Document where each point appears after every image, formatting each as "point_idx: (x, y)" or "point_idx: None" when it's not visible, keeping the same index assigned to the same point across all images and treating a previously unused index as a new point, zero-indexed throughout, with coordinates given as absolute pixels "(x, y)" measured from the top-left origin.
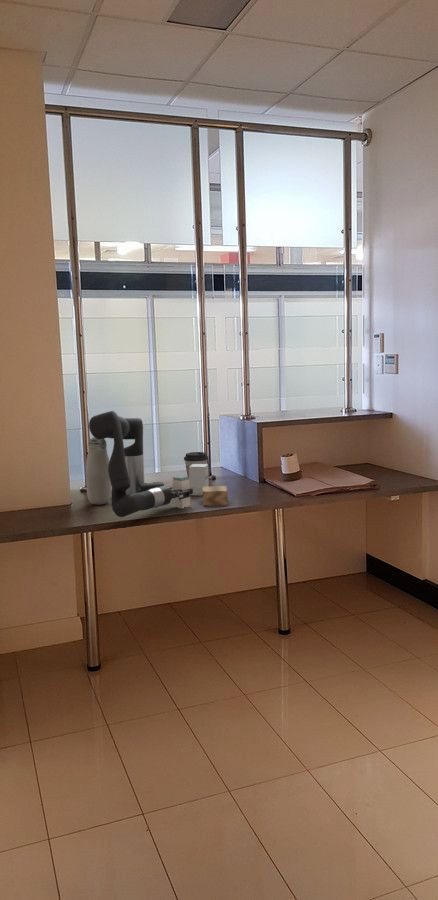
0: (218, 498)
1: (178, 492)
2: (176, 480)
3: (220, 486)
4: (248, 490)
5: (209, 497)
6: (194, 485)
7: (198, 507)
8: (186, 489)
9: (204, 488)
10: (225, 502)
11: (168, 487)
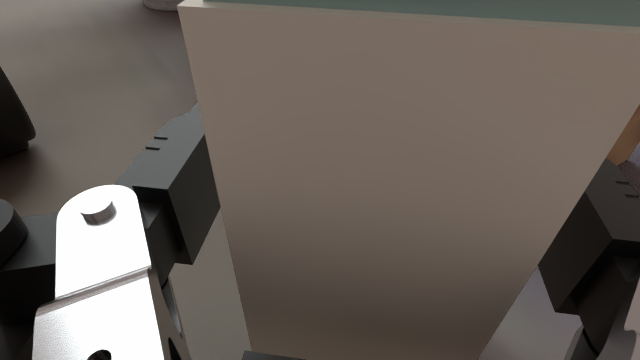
0: (619, 136)
1: (401, 298)
2: (376, 10)
3: None
4: None
5: None
6: None
7: (542, 302)
8: (600, 214)
9: None
10: (628, 148)
11: (113, 296)
